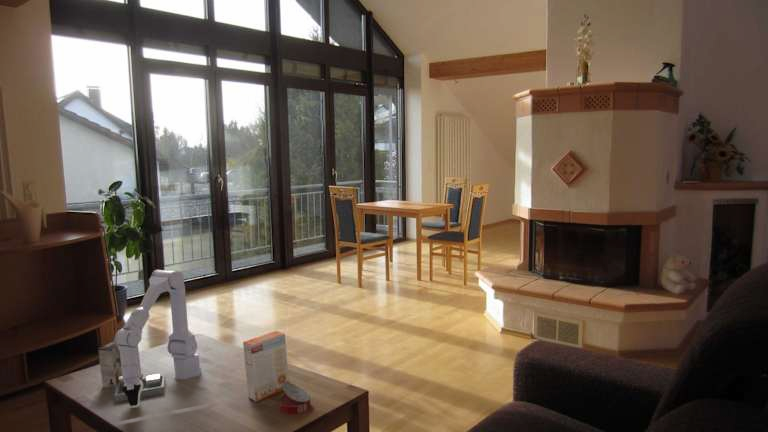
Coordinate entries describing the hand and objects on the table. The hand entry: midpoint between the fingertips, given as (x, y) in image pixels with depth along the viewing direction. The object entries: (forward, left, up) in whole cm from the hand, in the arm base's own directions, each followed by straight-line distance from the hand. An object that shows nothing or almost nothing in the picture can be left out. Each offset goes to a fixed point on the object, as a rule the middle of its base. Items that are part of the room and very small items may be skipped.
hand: (134, 400), depth 179 cm
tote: (-1, -12, -3) cm, 12 cm away
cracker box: (-44, +8, -3) cm, 45 cm away
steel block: (-5, -12, -2) cm, 13 cm away
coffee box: (+8, -24, -3) cm, 25 cm away
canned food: (-51, +22, -3) cm, 56 cm away
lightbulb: (0, 0, -3) cm, 3 cm away
